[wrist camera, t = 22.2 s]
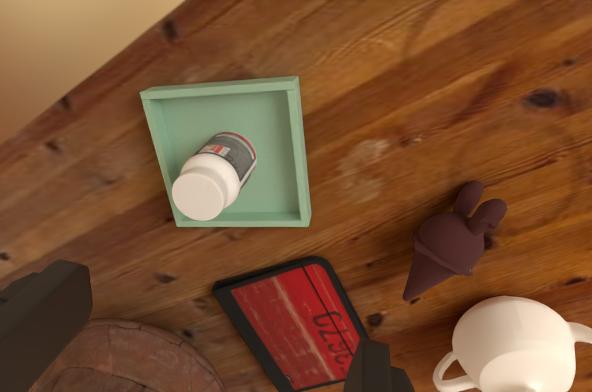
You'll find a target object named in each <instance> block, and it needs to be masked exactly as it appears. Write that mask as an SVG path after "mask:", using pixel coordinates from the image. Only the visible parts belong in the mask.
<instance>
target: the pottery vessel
mask: <svg viewBox="0 0 592 392" xmlns="http://www.w3.org/2000/svg"><path fill="white" fill-rule="evenodd" d="M36 392H226V390H225V387H224V384H223V382H222V380H221V379H220V377H219V375H218V374H217V372H216V371H215V369H214V368H213V366H212V365H211V364H210V362H209V361H208V360H207V359H206V358H205V357H204V356H203V355H202V354H201V353H200V352H199V351H197V350H196V349H195V348H194V347H193V346H191V345H190V344H189V343H187V342H186V341H184V340H183V339H182V338H180V337H179V336H178V335H176V334H174V333H173V332H171V331H169V330H165V329H161V328H159V327H156V326H153V325H150V324H147V323H142V322H137V321H131V320H125V319H117V318H98V319H91V320H87V322H86V324H85V325H84V326H83V327H82V328H81V330H80V331H79V332H78V333H77V334H76V335H75V337H74V338H73V339H72V340H71V341H70V342H69V344H68V345H67V346H66V347H65V348H64V349H63V351H62V352H61V353H60V354H59V355H58V356H57V358H56V359H55V360H54V361H53V362H52V363H51V365H50V366H49V367H48V368H47V369H46V370H45V371H44V373H43V374H42V375H41V376H40V377H39V378H38V382H37V389H36Z"/></svg>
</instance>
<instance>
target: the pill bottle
mask: <svg viewBox="0 0 592 392" xmlns="http://www.w3.org/2000/svg"><path fill="white" fill-rule="evenodd" d="M256 163H257V155H256V151H255V149H254V147H253V145H252V144H251V142H250V141H249V140H248V139H247V138H246V137H244V136H243V135H241V134H239V133H236V132H231V131H225V132H221V133H218V134H216V135H215V136H213V137H212V138H211V139H210V140H209V141H208V142H206V143H205V144H204V145H203V146H202V147H201V148H200V149H199V150H198V151H197V152H196V153H195V154H194V155H193V156H191V157H190V158H189V159H188V160H187V161H186V163H185V164H184V166H183V168H182V170H181V174H180V176H179V177H178V178H177V179H176V180H175V182H174V184H173V187H172V198H173V201H174V203H175V205H176V207H177V208H178V209H179V210H180V211H181V212H182V213H183V214H184V215H186V216H187V217H189V218H191V219H194V220H199V221H206V220H211V219H213V218H215V217H216V216H217V215H219V214H220V212H221V211H222V210H223V209H224V208H226V207H228V206H229V205H231V204H232V203H233V202H234V201H235V200H236V198H237V197H238V195H239V194H240V192H241V190H242V189H243V187H244V186H245V184H246V183H247V181H248V180H249V178H250V176H251V175H252V173H253V172H254V170H255V167H256Z"/></svg>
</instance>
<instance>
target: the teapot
mask: <svg viewBox="0 0 592 392" xmlns="http://www.w3.org/2000/svg"><path fill="white" fill-rule="evenodd" d="M576 341H582V342H589V343H592V329H591V328H589V327H587V326H585V325H582V324H579V323H574V322H566V321H565V320H564V319H563V318H562V317H561V316H560V315H558V314H557V313H556V312H555V311H553V310H552V309H550V308H549V307H547V306H545V305H544V304H542V303H539V302H537V301H534V300H531V299H527V298H522V297H513V296H505V295H504V296H498V297H493V298H489V299H486V300H483V301H481V302H479V303H477V304H476V305H474V306H473V307H472V308H470V309H469V310H468V311H467V312H465V313H464V314H463V316H462V317H461V318H460V319H459V321H458V323H457V325H456V327H455V330H454V333H453V338H452V345H453V351H451V352H449V353H448V354H446V355H445V356H444V358H443V359H442V360H441V361H440V362H439V364H438V365H437V366H436V368H435V370H434V373H433V382H434V384H435V386H436V388H437V390H439V391H441V392H459V391H462V390H466V389H470V388H474V387H476V388H479V389H480V390H481V391H482V392H568V391H569V389H570V388H571V386H572V383H573V380H574V375H575V351H574V344H575V342H576ZM456 359H458V361H459V363H460V365H461V366H462V368H463V369H464V370H465V372H466V373H467V375H466V376H462V377H458V378H455V379H451V380H443V381H442V376H443V374H444V372H445V371H446V369H447V368H448V367H449V365H450V364H451V363H452V362H453V361H455V360H456Z"/></svg>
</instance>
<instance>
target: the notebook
mask: <svg viewBox="0 0 592 392" xmlns="http://www.w3.org/2000/svg"><path fill="white" fill-rule="evenodd" d="M212 293H213V294H214V296H215V297H216V299H217V300H218V302H219V304H220V305H221V306H222V308H223V309H224V311H225V312H226V314H227V315H228V316H229V318H230V319H231V321H232V323H233V324H234V326H235V327H236V329H237V330H238V332H239V333H240V335H241V336H242V337H243V339H244V340H245V342H246V343H247V345H248V347H249V348H250V349H251V351H252V352H253V354H254V355H255V357H256V358H257V360H258V361H259V363H260V364H261V366H262V367H263V369H264V370H265V372H266V373H267V375H268V376H269V378H270V380H271V381H272V382H273V384H274V385H275V387H276V388H277V390H278V391H279V392H302V391H306V390H310V389H313V388H318V387H322V386H326V385H331V384H335V383H339V382H344V381H345V379H346V375H347V372H348V369H349V366H350V363H351V361H352V358H353V356H354V353H355V350H356V348H357V345H358V342H359V340H360V338H361V337H362V338H366V339H369V337H368V335H367V333H366V331H365V329H364V327H363V325H362V323H361V321H360V319H359V317H358V315H357V313H356V311H355V309H354V307H353V305H352V303H351V301H350V300H349V298H348V296H347V294H346V292H345V290H344V288H343V286H342V284H341V283H340V281H339V279H338V277H337V275H336V273H335V272H334V270H333V268H332V266H331V265H330V263H329V262H328V261H327V260H325V259H323V258H321V257H308V258H305V259H301V260H297V261H293V262H289V263H286V264H282V265H279V266H275V267H272V268H268V269H264V270H260V271H256V272H252V273H249V274H245V275H241V276H237V277H233V278H229V279H225V280H222V281H217V282H216V283H215V285H214V286H213V288H212ZM369 340H370V339H369Z"/></svg>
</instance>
